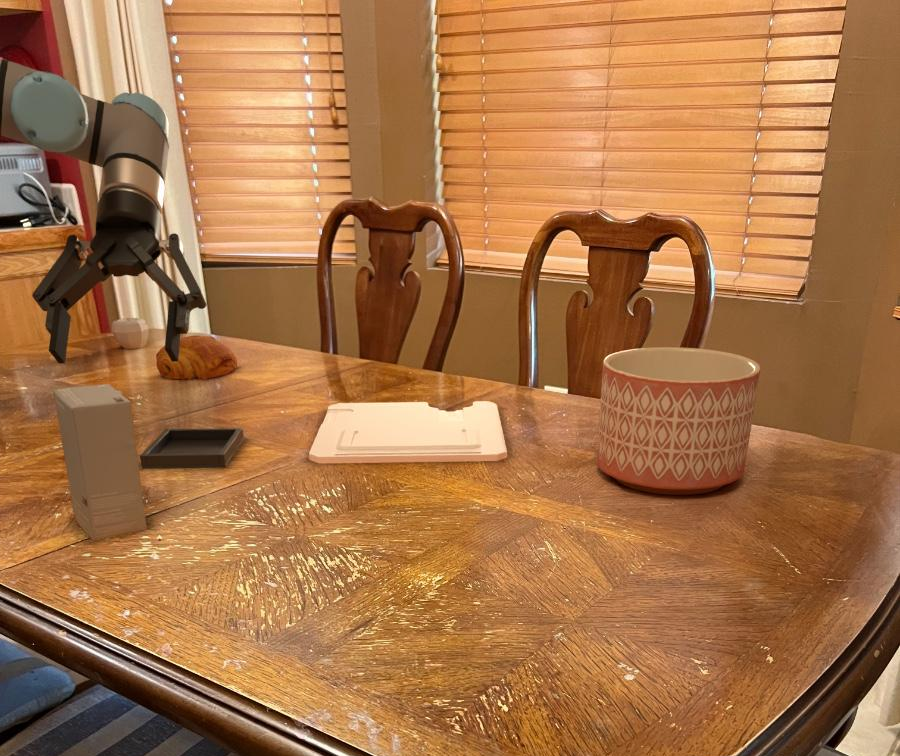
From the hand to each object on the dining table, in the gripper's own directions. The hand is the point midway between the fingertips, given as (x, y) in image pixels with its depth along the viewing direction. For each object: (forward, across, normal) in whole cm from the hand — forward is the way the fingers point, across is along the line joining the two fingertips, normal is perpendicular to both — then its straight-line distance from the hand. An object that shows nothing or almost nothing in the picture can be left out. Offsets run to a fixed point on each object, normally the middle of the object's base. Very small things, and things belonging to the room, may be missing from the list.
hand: (114, 356), depth 102 cm
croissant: (-35, +9, -60) cm, 70 cm away
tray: (-5, -34, -30) cm, 46 cm away
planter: (+9, -69, -16) cm, 71 cm away
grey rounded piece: (-53, +30, -78) cm, 99 cm away
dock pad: (+1, -3, -24) cm, 24 cm away
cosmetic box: (+20, 0, -6) cm, 20 cm away
